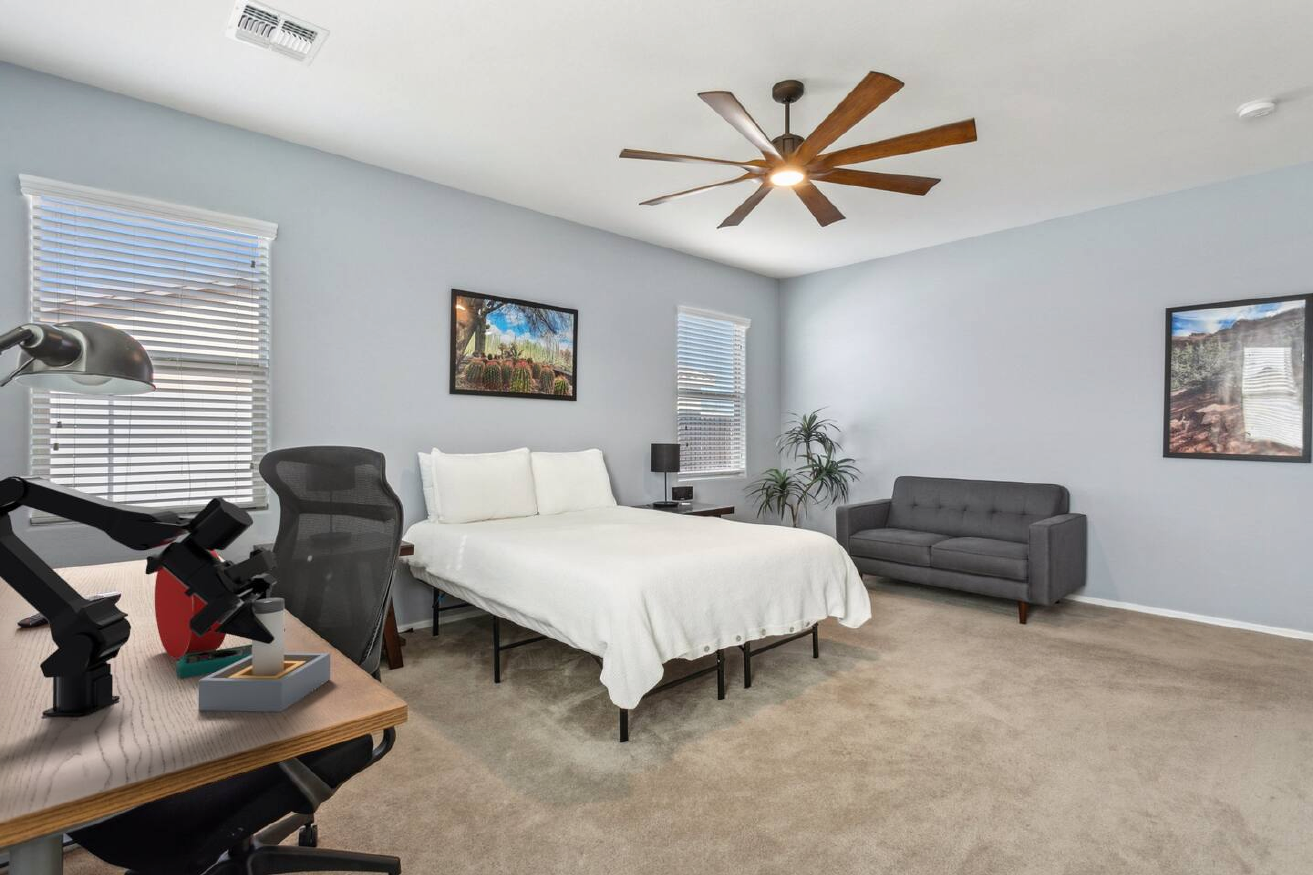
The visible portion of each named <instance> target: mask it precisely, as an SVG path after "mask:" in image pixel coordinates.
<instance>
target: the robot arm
mask: <svg viewBox="0 0 1313 875" xmlns="http://www.w3.org/2000/svg"><path fill="white" fill-rule="evenodd" d="M24 506H25V507H28V508H32V509H35V510H37V511H41V512H44V513H48V514H50V515H53V516H57V517H60V518H63V519H67V520H69V521H70V520H71V521H73V522H76V523H79V524H82V525H87V526H89V527H93V528H96V529H98V530H100V531H102V532H103V533H105V534H106V535H107V537H109V538H110V539H111V540H113V541H115V542H116V543H119V544H121V545H123V546H125V547H127V548H129V549H130V550H133V551H138V552H142V551H149V550H151V549H155V548H159V547H162V546H166V547H165V548H164V549H163V550H162V551H161V552H159V553H158V554H151V555H148V556H147V557H146V567H145V572H144V573H145V575H152V574H155V573H157V572H158V571H160V570H162V569H163V568H164V569H166V570H167V571H168V572H169V573H170V574H171V575H173V576H174V577H175V578H176V579H177V580H178V581H180V582H181V583H182V584H183V585H184V586H186V587H187V588H188V589H187V590H186V591H185V592H184V593H185V594H186V595H187V596H188V597H190V596H193V595H196V596H197V597H198V598H200V599H201V600H202V601H203V602H204V603H205V604H207V605H206V606H204V607H203V608H202V609H201V610H200V611H199V612H198V613H197V614H196V615H195V616H194V617H193V618H192V619H190V630H191V631H193V632H194V633H195V634H196V635H197V636H198V637H201V636H203V635H204V634H206V633H208V632H209V631H210V630H211V628H210V627H211V626H212V625H214V624H215V623H216V622H218V623H219V624H221V625H220V626H219V627H218V628H217V629H216V630H215V631H214V632H215V633H224V634H226V635H230V636H234V637H240V638H244V639H247V640H255V641H259V642H263V643H267V644H270V643H271V642H272V641H273V640H274V639H275V638H274V637H273V635H272V634H271V633H270V631H269V630H268V629H267V628H266V627H265V626H264V625H263V624H262V622H261V621H260V620H259V619H258V618H257V617H256V616H255V615H254V613H253V611H252V603H253V602H254V601H256V600H260V599H266V598H271V594H272V592H273V586H274V585H276V584H277V582H278V579H276V578H275V577H274V576H273V575H272V574H270V573H267V572H270V571H272V570H273V569H276V568H278V564H277V562H276V560H275V558H276V557H277V555H276V553H275V552H272V550H271V549H266V548H265V547H264V546H261V547H258V548H257V549H254V550H251V551H250V552H249V558H247V559H245V560H243V561H240V562H238V563H234V562H233V561H232V560H228V559H227V560H224V561H222V560H221V559H220V560H221V561H220V560H219V559H218V558H217V557H216V556H215V555H213V554H212V553H211V552H210V551H214V552H215V551H216V550H218V551H225V550H227V548H229V547H230V546H231V545H232V544H233V543H234V542H235V541H236V540H237V539H238V538H240V537H241V536H242V535H243V534H244V533H245V532H246V531H247V530H248V529H249V528H250V527H252V525H253V524H254V520H253V518H252V516H251V515H250V514H249V513H248V512H247V510H245V509H244V508H242V507H239V506H238V505H236V504H234V503H232V502H230V501H228V500H225V499H224V498H223V497H222V496H217V497H213V498H212V499H210V501H209V502H208V503H207V504H206V506H205V507H204V508H203V509H201V511H199V513H198V514H196V515H195V516H194V517H183V516H179V515H178V514H177V513H176V512H175V511H172V510H170V509H165V508H159V507H158V508H157V507H152V506H151V507H150V506H145V505H144V506H143V505H131V504H130V505H129V504H122V503H119V502H115V501H112V500H109V499H105V498H103V497H99V496H96V495H93V494H89V493H87V492H85V491H80V490H77V489H74V488H71V487H68V486H65V485H62V484H59V483H56V482H52V481H49V480H47V479H44V478H42V477H40V476H39V475H36V474H35V475H33V474H29V475H14V476H8V477H5V478H4V479H2V480H0V579H2V580H3V581H4V582H5V583H7V585H9V586H10V587H11V589H12V590H14V591H15V592H16V593H17V594H18V595H19V596H20V597H22V598H23V600H25V601H26V602H27V603H28V604H29V605H30V606H31V607H32V608H34V609H35V610H36V611H37V613H39V614H40V615H41V616H42V617H43V618H45V620H47V621H48V625H49V628H50V629H49V630H50V635H51V639H52V641H53V643H54V644H55V646H56V647H57V648H56V649H55V650H54V651H53V652H52V653H51V654H50V655H49V656H47V658H45V659H44V660H43V661H42V662H41V663H40V664H39V667H40V670H41V672H42V674H43V677H44V678H45V679H51V678H52V707H51V708H47V709H46V710H43V711H42V713H41V714H42V716H56V717H57V716H58V717H60V716H61V717H81V716H82V717H83V716H85V715H88V714H90V713H92V712H94V711H97V710H99V709H101V708H103V707H105V706H108V705H110V704H112V703H114V702H117V701H119V700H120V699H121V698H120V696H119V695H113V683H114V682H113V681H114V680H113V678H114V677H113V674H112V673H111V672H112V670H111V669H112V664H111V663H108V661H110V660H112V659H115V658H117V657H118V655H119V653H120V650H121V647H123V646H124V645H125V644H126V643H127V642H128V641H129V638H130V636H131V629H132V626H131V623H130V621H129V620H128V619H127V618H126V617H128V616H129V614H128V613H127V612H123V611H122V610H121V609H119V608H118V607H117V606H116V604H115V602H114V601H113V600H111V599H110V598H109V597H105V598H103V599H101V600H97V601H96V602H95V601H92V600H89V599H86V598H85V597H83V596H82V595H81V594H80V593H79V592H77V591H76V590H75V589H74V588H73V587H72V585H70V584H69V583H68V582H67V581H66V580H65V579H64V578H63V577H61V576H60V574H59V573H57V572H56V571H55V569H53V568H52V567H51V566H50V565H48V564H47V563H46V562H45V561H44V560H43V559H42V558H41V557H40V556H39V555H38V554H36V553H37V552H35V551H33V550H32V548H30V547H29V546H28V545H27V544H26V543H25V542H24V541H23V540H22V539H21V538H19V537H18V535H16V533H14V531H13V525H12V520H11V515H10V514H9V513H13V512H16V511H17V510H19V509H21V508H23V507H24ZM185 535H186V536H185ZM180 536H185V538H183V539H182V540H181V541H176V540H177V539H178V538H179V537H180ZM285 632H286V628H285V627H284V633H285Z"/></svg>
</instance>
